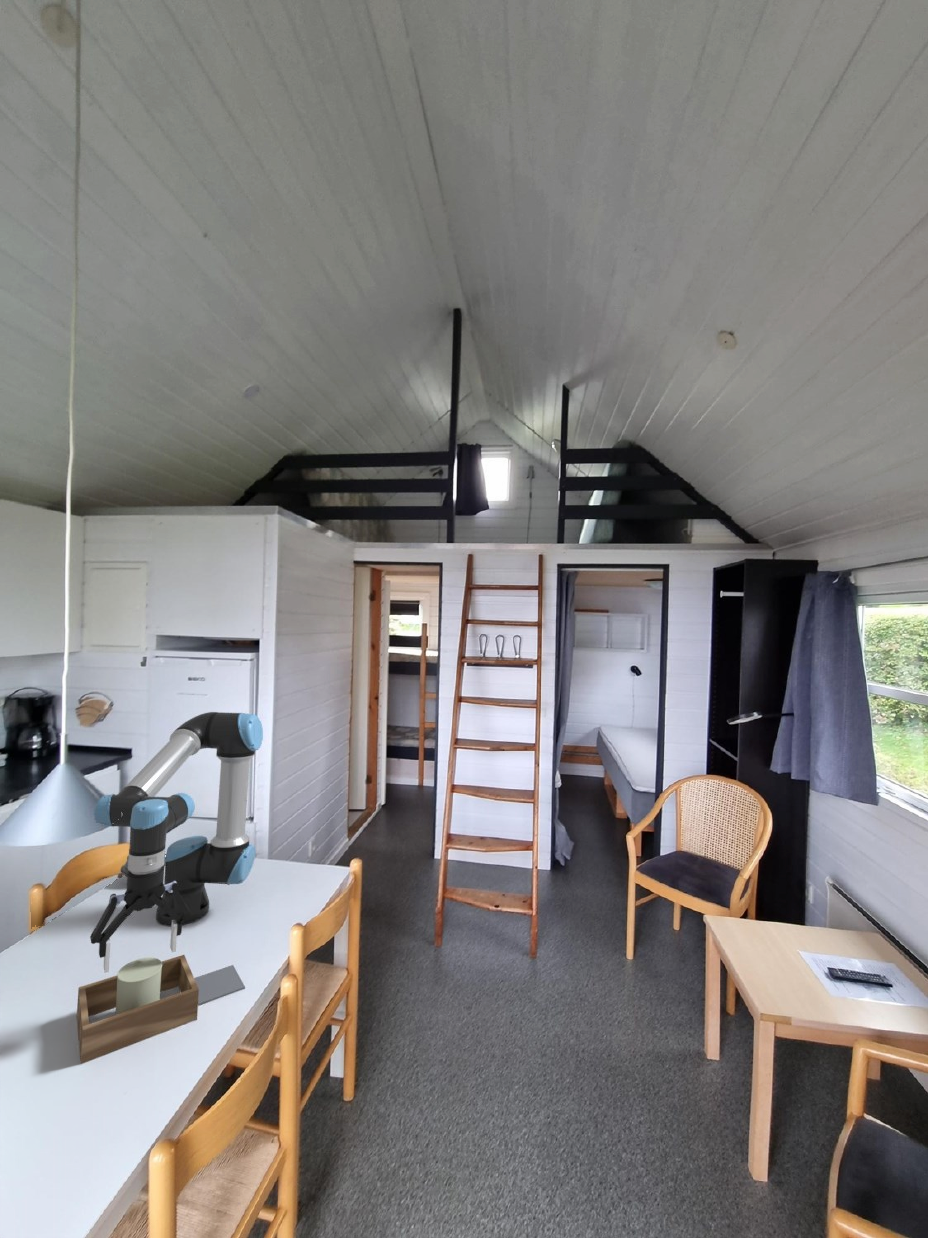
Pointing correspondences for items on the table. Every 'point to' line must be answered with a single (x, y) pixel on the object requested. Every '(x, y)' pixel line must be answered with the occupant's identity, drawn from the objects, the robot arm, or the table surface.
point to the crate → (134, 1012)
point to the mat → (218, 984)
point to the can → (138, 984)
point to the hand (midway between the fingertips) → (140, 959)
